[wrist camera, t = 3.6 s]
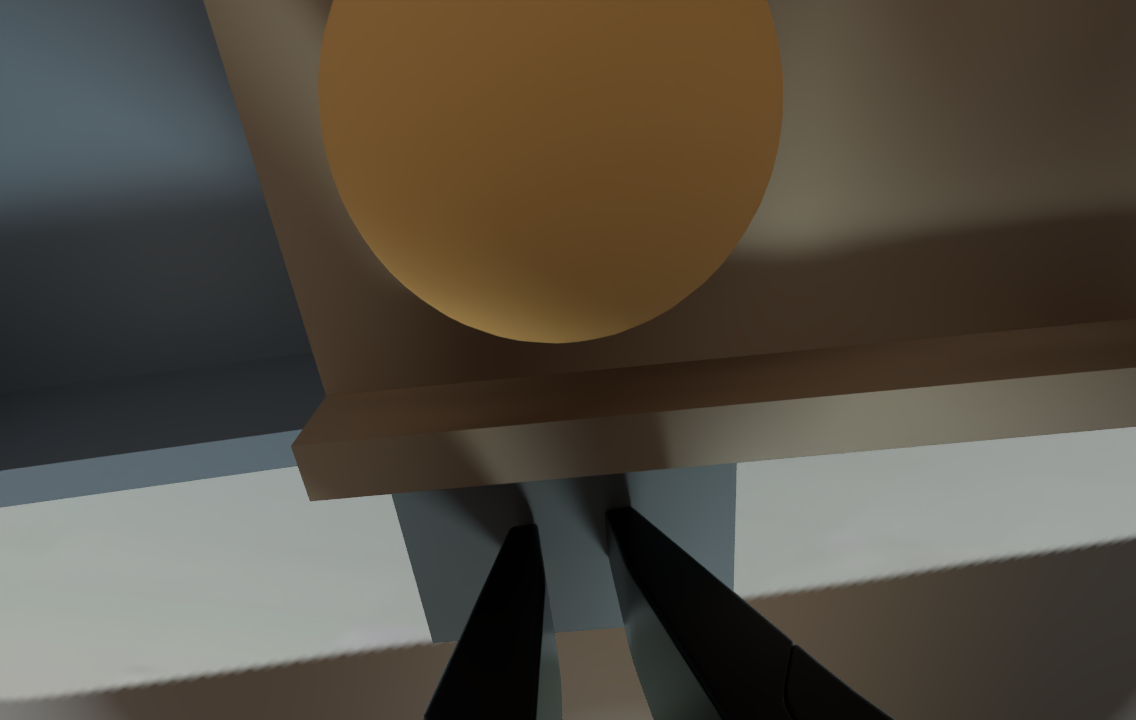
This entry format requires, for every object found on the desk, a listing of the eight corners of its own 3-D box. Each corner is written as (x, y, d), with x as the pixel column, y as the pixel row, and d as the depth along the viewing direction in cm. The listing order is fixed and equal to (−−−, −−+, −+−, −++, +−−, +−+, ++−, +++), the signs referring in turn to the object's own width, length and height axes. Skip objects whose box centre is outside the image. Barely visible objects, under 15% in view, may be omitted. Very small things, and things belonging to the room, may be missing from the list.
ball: (838, -160, 5) (694, -406, 2) (805, 277, 6) (700, 473, 4) (472, -68, 6) (119, -137, 4) (517, 260, 8) (293, 384, 5)
